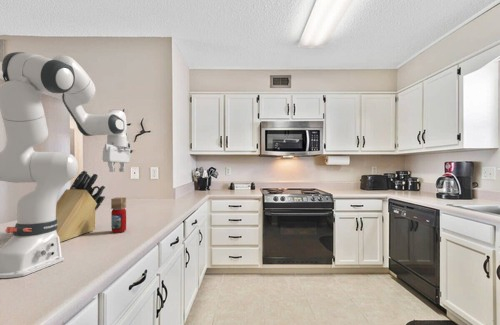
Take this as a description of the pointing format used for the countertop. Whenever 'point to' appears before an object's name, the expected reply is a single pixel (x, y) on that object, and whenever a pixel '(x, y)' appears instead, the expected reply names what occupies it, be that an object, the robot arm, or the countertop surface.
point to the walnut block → (118, 203)
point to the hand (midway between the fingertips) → (116, 171)
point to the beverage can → (118, 220)
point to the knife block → (78, 207)
